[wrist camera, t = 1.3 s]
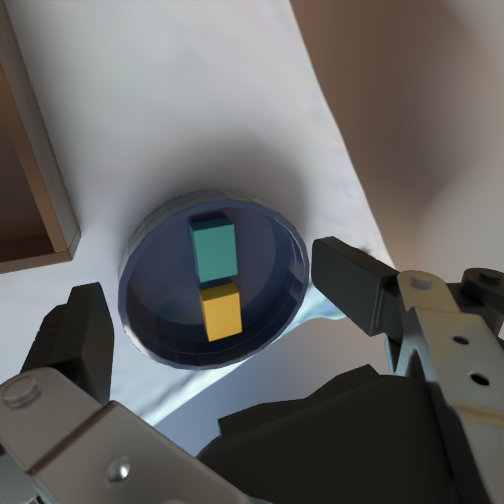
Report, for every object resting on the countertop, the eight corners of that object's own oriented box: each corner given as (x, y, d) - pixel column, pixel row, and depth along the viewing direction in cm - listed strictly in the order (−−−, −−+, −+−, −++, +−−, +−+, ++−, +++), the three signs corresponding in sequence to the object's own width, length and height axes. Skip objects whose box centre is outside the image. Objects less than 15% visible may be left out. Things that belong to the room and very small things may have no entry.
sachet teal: (189, 223, 26) (193, 231, 24) (227, 216, 27) (234, 223, 25) (196, 272, 28) (200, 282, 26) (231, 264, 29) (237, 274, 27)
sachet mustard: (198, 290, 29) (203, 301, 27) (233, 282, 30) (239, 292, 28) (204, 329, 31) (209, 342, 29) (236, 320, 32) (242, 332, 30)
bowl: (95, 204, 23) (89, 219, 20) (292, 177, 28) (314, 186, 25) (141, 363, 30) (143, 393, 27) (289, 320, 36) (305, 340, 32)
